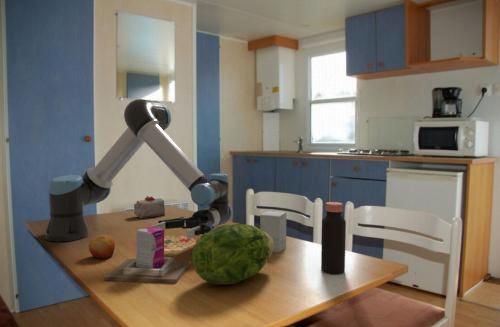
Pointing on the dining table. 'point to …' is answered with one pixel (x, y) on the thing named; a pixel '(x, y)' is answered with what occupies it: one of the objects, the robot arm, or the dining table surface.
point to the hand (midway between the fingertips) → (169, 232)
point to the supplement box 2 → (275, 228)
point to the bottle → (333, 239)
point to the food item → (149, 208)
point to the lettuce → (231, 253)
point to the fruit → (102, 246)
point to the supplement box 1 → (150, 248)
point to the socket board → (149, 271)
